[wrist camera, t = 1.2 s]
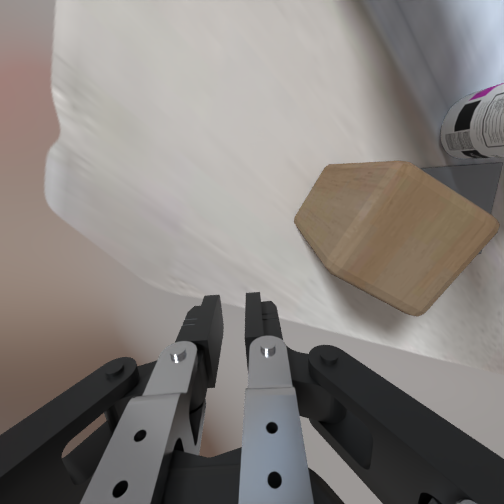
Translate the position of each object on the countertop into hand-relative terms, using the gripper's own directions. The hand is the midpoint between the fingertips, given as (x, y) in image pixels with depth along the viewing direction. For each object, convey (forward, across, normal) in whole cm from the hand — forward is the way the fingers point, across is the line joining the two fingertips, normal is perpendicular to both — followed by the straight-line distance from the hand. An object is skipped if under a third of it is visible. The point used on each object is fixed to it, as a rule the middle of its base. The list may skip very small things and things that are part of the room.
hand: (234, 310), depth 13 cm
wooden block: (+27, -14, 0) cm, 30 cm away
